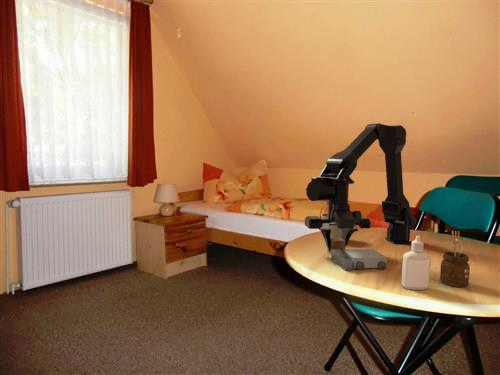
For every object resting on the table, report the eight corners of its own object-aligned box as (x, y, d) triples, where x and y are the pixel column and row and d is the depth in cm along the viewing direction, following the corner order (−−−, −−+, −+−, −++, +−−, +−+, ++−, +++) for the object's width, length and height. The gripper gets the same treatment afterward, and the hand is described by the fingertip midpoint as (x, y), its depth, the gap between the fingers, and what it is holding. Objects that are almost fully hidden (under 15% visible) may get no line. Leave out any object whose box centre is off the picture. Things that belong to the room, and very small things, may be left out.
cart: (371, 257, 102) (371, 248, 102) (388, 269, 92) (388, 258, 92) (341, 258, 101) (341, 248, 101) (355, 269, 91) (355, 259, 91)
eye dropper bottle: (428, 293, 77) (432, 239, 76) (400, 288, 80) (404, 236, 78) (428, 286, 81) (431, 235, 80) (401, 282, 83) (404, 232, 82)
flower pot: (314, 237, 126) (315, 213, 125) (335, 235, 130) (336, 212, 129) (330, 244, 117) (331, 218, 116) (352, 241, 121) (353, 216, 120)
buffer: (338, 258, 101) (339, 248, 101) (352, 270, 91) (352, 259, 91) (331, 258, 101) (332, 248, 100) (344, 270, 91) (345, 259, 91)
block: (340, 251, 108) (340, 237, 108) (344, 255, 104) (345, 240, 104) (327, 252, 108) (328, 237, 107) (331, 255, 104) (332, 241, 103)
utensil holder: (440, 285, 82) (444, 235, 80) (438, 276, 87) (441, 229, 86) (470, 289, 79) (474, 237, 78) (466, 280, 85) (469, 232, 84)
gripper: (315, 203, 95) (313, 259, 97) (381, 203, 97) (378, 257, 99) (304, 197, 106) (303, 247, 108) (364, 197, 108) (361, 247, 110)
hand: (336, 250), depth 106 cm, fingers closed on block, 4 cm apart
